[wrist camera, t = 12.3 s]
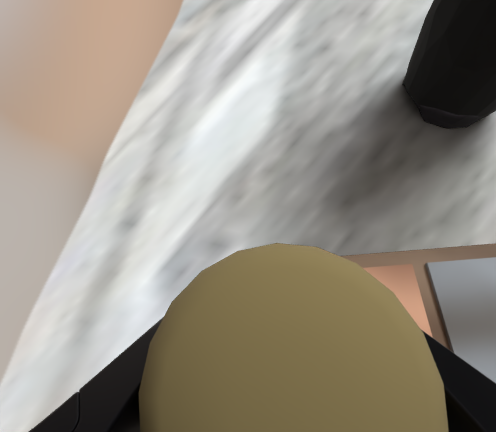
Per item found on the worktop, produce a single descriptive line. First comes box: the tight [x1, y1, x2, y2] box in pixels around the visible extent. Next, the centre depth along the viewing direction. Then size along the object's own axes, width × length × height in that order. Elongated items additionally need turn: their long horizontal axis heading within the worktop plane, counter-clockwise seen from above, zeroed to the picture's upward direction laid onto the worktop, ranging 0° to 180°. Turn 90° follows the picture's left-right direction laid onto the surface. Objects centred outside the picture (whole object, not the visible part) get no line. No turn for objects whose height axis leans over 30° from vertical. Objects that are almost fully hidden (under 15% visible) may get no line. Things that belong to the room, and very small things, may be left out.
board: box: [340, 244, 496, 383], centre depth 19 cm, size 12×20×1 cm, turn 94°
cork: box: [139, 243, 449, 432], centre depth 9 cm, size 6×6×11 cm
